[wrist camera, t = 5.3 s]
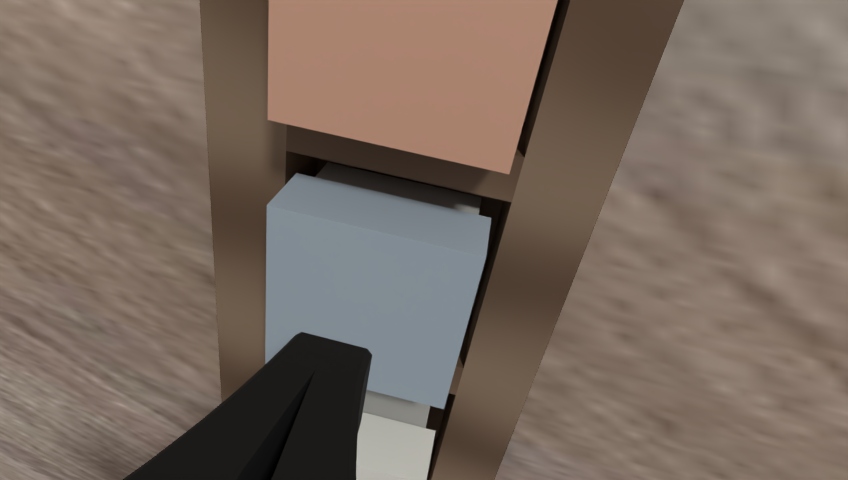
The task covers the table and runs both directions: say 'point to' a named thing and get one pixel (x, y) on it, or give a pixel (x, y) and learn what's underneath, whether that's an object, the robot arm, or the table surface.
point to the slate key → (376, 273)
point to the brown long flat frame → (501, 193)
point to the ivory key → (393, 439)
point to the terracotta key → (409, 72)
